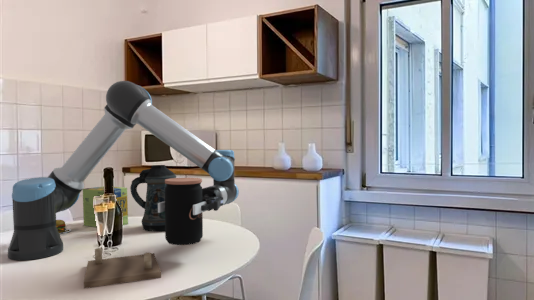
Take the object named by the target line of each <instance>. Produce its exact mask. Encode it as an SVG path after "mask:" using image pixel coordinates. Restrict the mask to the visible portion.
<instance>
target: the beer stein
mask: <svg viewBox="0 0 534 300" xmlns="http://www.w3.org/2000/svg"><path fill="white" fill-rule="evenodd" d="M170 178H177V175H176V173H175V172H174V171H171V170H170V169H169V168H167V166H166V165H165V164H156V165H151V167H150V168H148V169H143V170H141V172H140V173H139V176H137V177H136V178H134V179H132V181H131V184H130V187H129V189H130V195H131V196H132V199H133V200H134V201H135V203H137V204H138V205H139V206H140V207H141V208H142V209H144V212H143V217H142V219H141V226H142V230H143V231H145V232H150V233H162V232H165V211H164V212H161V213H158V203H160V202H164V199H165V187H166V186H167V185H166V183H165V180H166V179H170ZM140 184H146V195H145V200H144V199H143V198H142V197H141V196H140V195H139V193H138V186H139V185H140Z"/></svg>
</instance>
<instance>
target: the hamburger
mask: <svg viewBox="0 0 534 300" xmlns="http://www.w3.org/2000/svg"><path fill="white" fill-rule="evenodd" d="M56 227H57V229H58V232H59V234H60V235H63V234H62V233H61V232H63V233H64V234H67V233H70V232H71V231H72V229H71V228H67V225H66V221H65V220H63V219H56ZM68 230H69V231H68Z"/></svg>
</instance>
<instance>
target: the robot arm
mask: <svg viewBox="0 0 534 300" xmlns="http://www.w3.org/2000/svg"><path fill="white" fill-rule="evenodd" d="M105 102H106V105H105V106H104V109H103V110H104V115H103V116H102V117H101V119H100V120H99V121H98V122H97V123H96V125H94V127H93V128H92V129H91V131H90V132H89V133H88V135H87V136H86V137H85V138H84V140H82V142H81V143H80V144H79V145H78V146H77V148H76V149H75V150H74V152H72V154H71V155H70V157H68V159H67V160H66V161H65V162H64V164H63V165H62V166H61V167H56V168H54V169H53V170H52V171H51V172H50V174H49V175H48V176H47V177H43V176H40V177H31V178H28V179H27V178H26V179H22V180H19V181H17V182H15V183H14V184H13V185H12V192H11V200H12V219H13V220H12V221H13V234H12V236H11V240H10V242H9V245H8V248H7V258H8V259H9V260H14V261H30V260H36V259H37V260H39V259H43V258H48V257H51V256H52V257H53V256H55V255H58V254H60V253H61V252H63V251H64V243H63V240H62V237H61V234H59V232H58V229H57V227H56V220H57V213H60V212H64V211H66V210H68V209H70V208H71V207H74V205H75V204H76V203H77V202H78V201H79V199H80V196H81V193H82V192H83V189H85V183H84V182H85V180H86V179H87V177H88V176H89V175H90V174H91V173H92V172H93V170H95V167H97V165H98V164H99V163H100V162H101V161H102V159H103V158H104V157H105V156H106V155H107V154H108V152H109V151H110V150H111V148H112V147H113V146H114V145H115V143H116V142H117V141H118V140H119V138H120V137H121V136H122V135H123V134H124V132H125V131H126V130H131V129H133V128H134V127H135V126H136V125H138V126H140V127H142V128H143V129H145V130H146V131H147V132H149V133H150V134H151V135H153V136H155V138H157V139H159V140H160V141H162V143H164V144H165V145H167V146H169V147H170V148H171V149H174V151H176V152H178V153H179V154H180V155H182V156H183V157H184V158H186V159H187V160H188V161H190V162H191V163H193V164H195V166H197V167H199V168H201V170H203V171H204V172H206V173H207V174H208V175H209V176H210V178H211V179H212V180H213V182H212V183H213V185H210V186H207V187H202V202H201V203H198V204H195V205H193V215H197V214H200V213H202V214H203V213H204V212H210V211H214V212H215V211H216V212H217V211H218V210H219V209H220V207H223V206H225V205H229V204H231V203H233V202H234V201H235V200H237V199H238V196H239V193H240V192H239V187H238V186H237V184H236V183H235V160H236V158H235V151H234V150H233V149H214V148H213V147H212V146H210V145H209V144H207V143H206V142H205V141H203V139H200V138H199V137H198V136H196V135H195V134H194V133H192V132H191V131H189V130H188V129H186V128H185V127H183V125H181V124H180V123H178V122H177V121H176V120H174V119H172V118H171V117H170V116H168V115H167V114H166V113H164V112H163V111H161V110H160V109H158V108H157V107H155V106H154V105H153V100H152V96H151V95H150V93H149V92H148V91H147V90H146V89H145V88H144V87H142V86H141V85H140V84H139V85H138V84H136V83H135V82H132V81H129V80H120V81H116V82H114V83H112V84H111V86H109V87H108V89H107V90H106V95H105ZM164 211H165V199H164V202H160V203H158V213H161V212H164Z"/></svg>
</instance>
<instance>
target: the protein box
mask: <svg viewBox="0 0 534 300" xmlns="http://www.w3.org/2000/svg"><path fill="white" fill-rule="evenodd" d="M113 187H114V194H115V195H116V199H117V202H118V204H119V205H120V207H121V209H122V213H123V225H122V226H125V225H129V212H128V211H129V210H128V208H129V207H128V206H129V205H128V188H127V187H121V186H120V187H119V186H113ZM103 194H104V186H97V187H96V186H95V187H87V188H83V190H82V209H83V210H82V212H83V226H86V227H91V228H97V227H96V221H95V214H94V208H93V197H94V196H100V195H103Z"/></svg>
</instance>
